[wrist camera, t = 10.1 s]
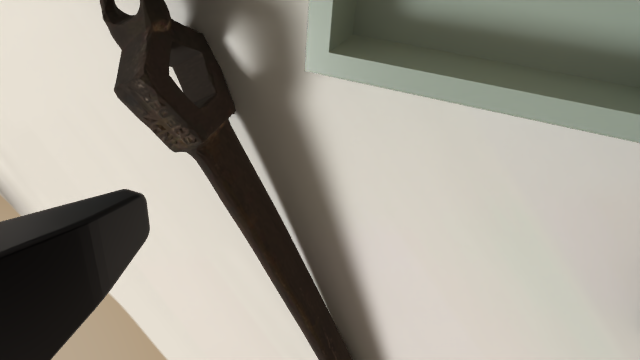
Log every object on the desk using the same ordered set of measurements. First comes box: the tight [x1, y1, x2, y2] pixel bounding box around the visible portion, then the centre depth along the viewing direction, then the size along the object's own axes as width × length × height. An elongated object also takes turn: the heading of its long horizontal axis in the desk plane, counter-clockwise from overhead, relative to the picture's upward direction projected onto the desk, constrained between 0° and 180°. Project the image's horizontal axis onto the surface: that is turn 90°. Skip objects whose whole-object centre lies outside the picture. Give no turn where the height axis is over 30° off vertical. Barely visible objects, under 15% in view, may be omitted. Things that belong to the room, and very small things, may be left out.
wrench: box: [100, 0, 352, 360], centre depth 26 cm, size 5×5×30 cm
